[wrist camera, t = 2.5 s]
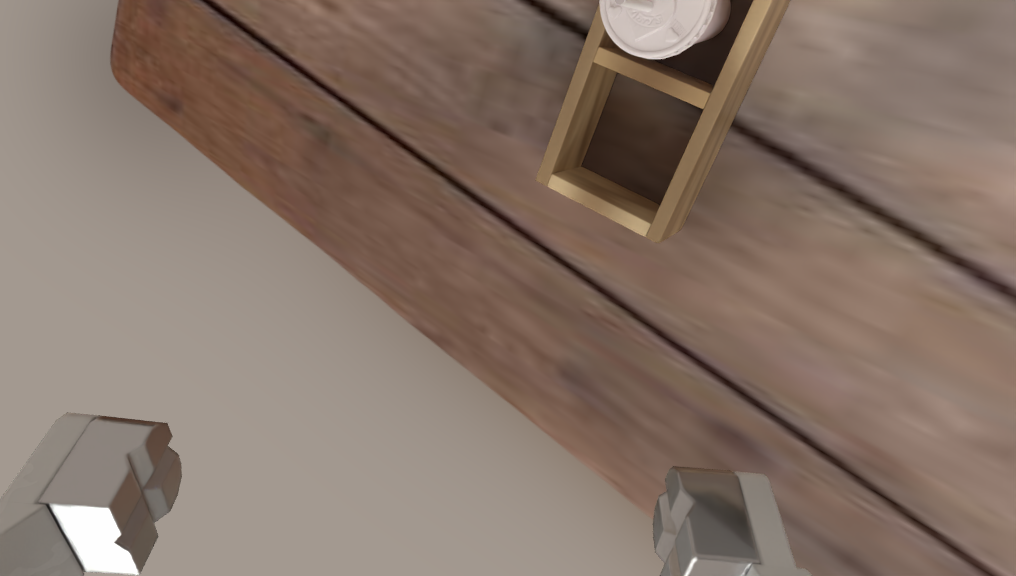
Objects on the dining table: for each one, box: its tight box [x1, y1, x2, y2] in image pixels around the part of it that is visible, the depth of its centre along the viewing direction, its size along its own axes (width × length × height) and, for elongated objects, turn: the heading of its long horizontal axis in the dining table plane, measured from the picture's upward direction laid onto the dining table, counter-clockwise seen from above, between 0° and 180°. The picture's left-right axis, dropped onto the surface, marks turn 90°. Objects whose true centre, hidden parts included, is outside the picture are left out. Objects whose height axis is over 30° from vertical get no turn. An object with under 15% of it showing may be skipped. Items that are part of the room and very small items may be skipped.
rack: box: [536, 0, 791, 243], centre depth 45 cm, size 10×19×5 cm, turn 159°
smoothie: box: [600, 0, 731, 59], centre depth 40 cm, size 6×6×14 cm
